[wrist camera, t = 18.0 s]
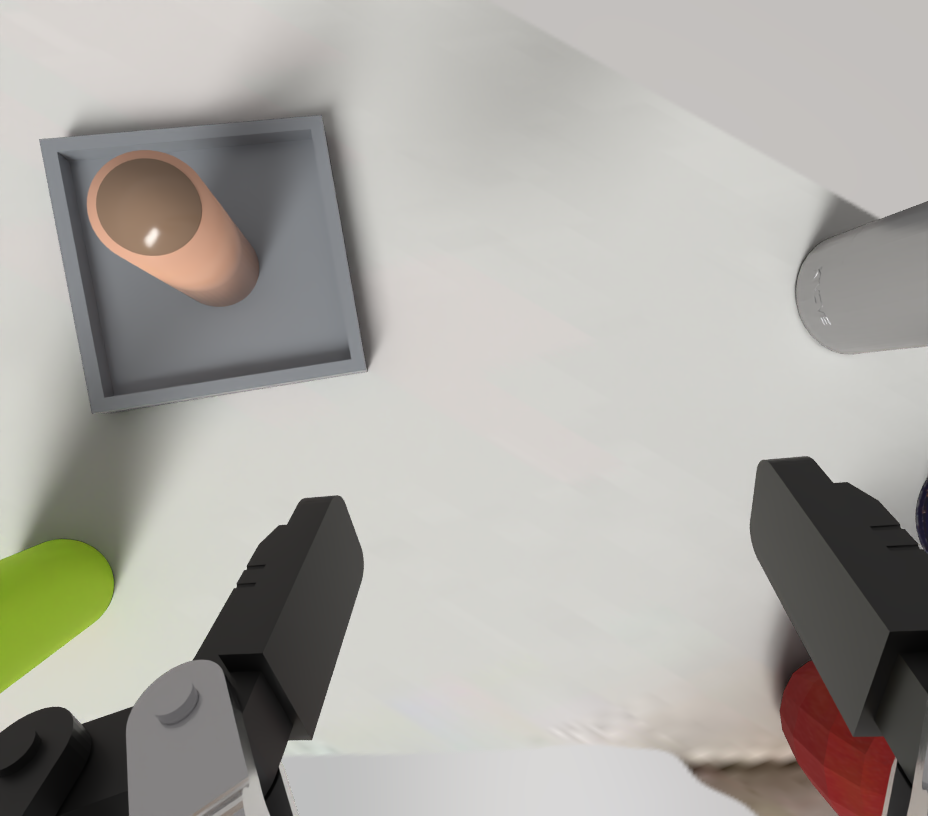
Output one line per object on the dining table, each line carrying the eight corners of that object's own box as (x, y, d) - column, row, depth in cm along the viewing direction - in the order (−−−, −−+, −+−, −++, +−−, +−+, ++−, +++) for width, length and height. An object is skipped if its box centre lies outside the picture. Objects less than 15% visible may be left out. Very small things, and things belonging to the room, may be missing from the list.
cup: (252, 223, 33) (201, 145, 23) (265, 302, 33) (219, 258, 23) (167, 230, 32) (76, 152, 22) (180, 311, 32) (96, 270, 22)
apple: (878, 744, 41) (1072, 876, 30) (757, 784, 40) (912, 940, 28) (855, 608, 41) (1042, 688, 29) (732, 643, 39) (879, 743, 28)
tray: (325, 131, 35) (321, 114, 33) (367, 371, 35) (366, 369, 33) (60, 155, 32) (39, 139, 30) (109, 413, 33) (91, 413, 31)
